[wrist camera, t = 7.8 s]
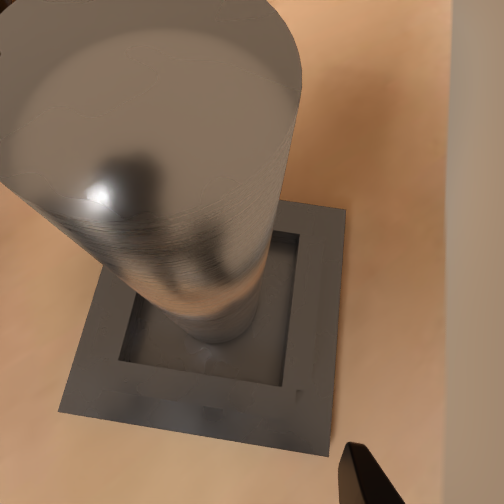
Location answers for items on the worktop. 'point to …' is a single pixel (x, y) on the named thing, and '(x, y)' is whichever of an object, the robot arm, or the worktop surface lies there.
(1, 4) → the bolt
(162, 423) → the block
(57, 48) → the shiny tapered metal piece
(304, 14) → the worktop surface
